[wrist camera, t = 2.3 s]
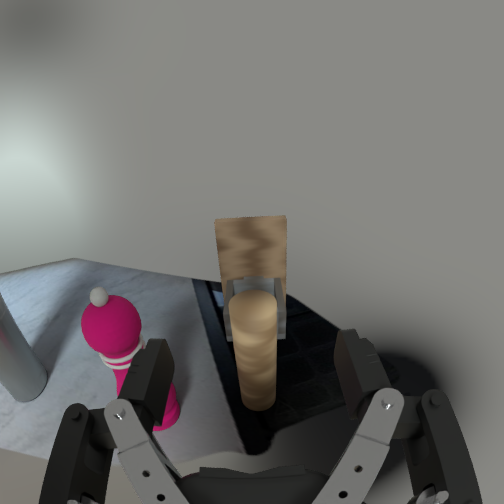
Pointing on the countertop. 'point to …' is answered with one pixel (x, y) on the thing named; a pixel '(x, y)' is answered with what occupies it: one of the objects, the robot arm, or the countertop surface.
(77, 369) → the countertop surface
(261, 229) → the cup bracket
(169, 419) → the pepper mill
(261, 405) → the oak post
